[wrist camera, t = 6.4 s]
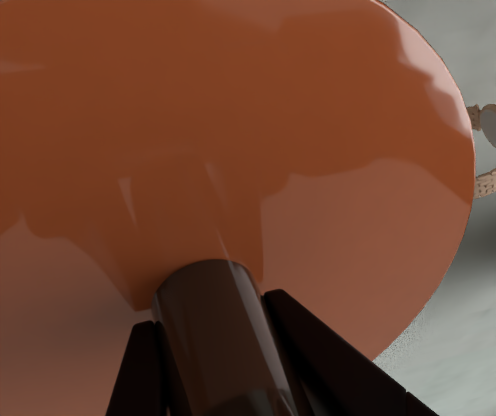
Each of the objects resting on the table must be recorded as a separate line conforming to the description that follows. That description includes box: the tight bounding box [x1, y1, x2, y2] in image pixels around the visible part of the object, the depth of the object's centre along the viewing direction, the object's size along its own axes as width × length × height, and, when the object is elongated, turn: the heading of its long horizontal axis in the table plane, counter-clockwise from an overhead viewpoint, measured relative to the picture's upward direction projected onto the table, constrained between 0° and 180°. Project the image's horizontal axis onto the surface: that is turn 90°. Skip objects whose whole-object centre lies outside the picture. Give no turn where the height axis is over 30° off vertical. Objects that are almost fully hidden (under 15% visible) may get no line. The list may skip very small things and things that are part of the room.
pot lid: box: [0, 0, 476, 416], centre depth 9 cm, size 14×14×6 cm
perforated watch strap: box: [466, 104, 496, 199], centre depth 21 cm, size 3×5×5 cm, turn 115°
